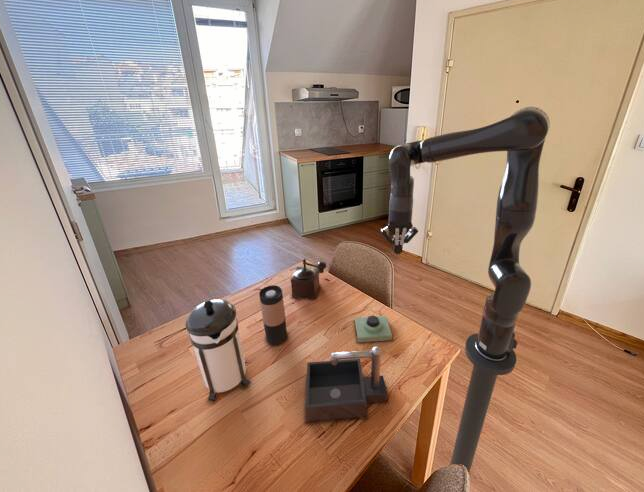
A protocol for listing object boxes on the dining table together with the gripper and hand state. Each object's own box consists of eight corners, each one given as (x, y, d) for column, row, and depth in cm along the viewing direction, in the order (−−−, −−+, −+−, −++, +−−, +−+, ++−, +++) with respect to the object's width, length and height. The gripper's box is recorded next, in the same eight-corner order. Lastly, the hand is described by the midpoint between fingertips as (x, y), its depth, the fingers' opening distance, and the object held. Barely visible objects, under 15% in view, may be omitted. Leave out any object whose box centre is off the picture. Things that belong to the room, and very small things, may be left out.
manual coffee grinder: (291, 298, 125) (287, 262, 118) (298, 283, 135) (295, 249, 128) (326, 301, 123) (325, 265, 116) (331, 285, 133) (329, 251, 126)
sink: (380, 370, 92) (380, 356, 90) (389, 415, 80) (391, 400, 77) (308, 376, 91) (307, 362, 88) (306, 422, 78) (305, 407, 76)
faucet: (378, 380, 86) (380, 344, 80) (380, 388, 83) (382, 351, 78) (331, 383, 85) (330, 347, 79) (331, 391, 83) (330, 354, 77)
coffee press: (263, 364, 95) (250, 288, 83) (230, 410, 81) (209, 327, 69) (220, 350, 101) (202, 277, 88) (182, 390, 87) (155, 311, 75)
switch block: (385, 320, 113) (386, 311, 111) (391, 340, 104) (392, 331, 102) (355, 322, 112) (355, 313, 110) (358, 342, 103) (358, 333, 101)
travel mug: (264, 332, 108) (257, 288, 100) (285, 327, 110) (280, 283, 102) (267, 348, 101) (260, 301, 93) (289, 341, 104) (284, 296, 95)
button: (377, 318, 108) (377, 315, 108) (379, 326, 105) (379, 323, 104) (366, 319, 108) (366, 315, 107) (368, 327, 105) (368, 323, 104)
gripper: (383, 212, 91) (380, 259, 98) (424, 210, 92) (419, 257, 99) (378, 203, 98) (376, 248, 105) (417, 202, 99) (412, 247, 106)
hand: (397, 253), depth 102 cm, fingers closed
